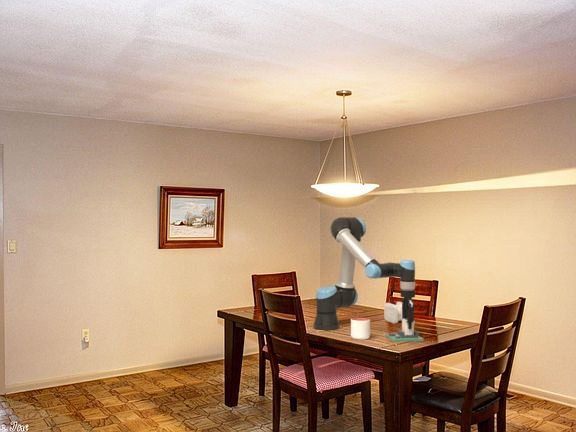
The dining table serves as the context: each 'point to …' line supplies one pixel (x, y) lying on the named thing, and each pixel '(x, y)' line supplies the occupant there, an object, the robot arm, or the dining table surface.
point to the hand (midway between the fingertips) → (407, 333)
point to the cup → (360, 328)
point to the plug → (404, 326)
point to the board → (403, 337)
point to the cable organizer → (393, 312)
